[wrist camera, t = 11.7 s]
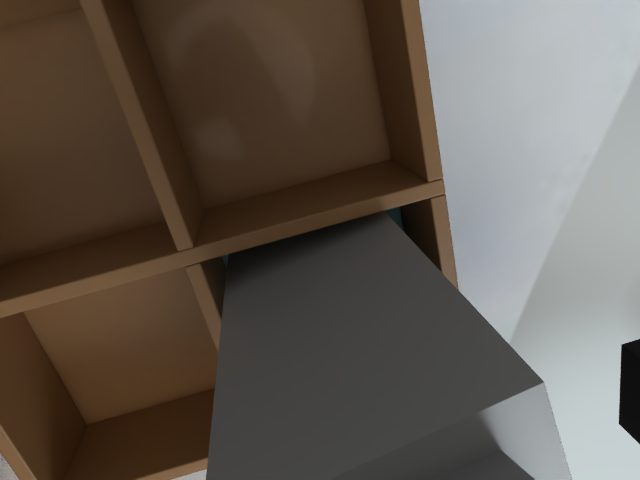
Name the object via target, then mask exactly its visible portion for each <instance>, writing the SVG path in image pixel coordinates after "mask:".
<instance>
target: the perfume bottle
mask: <svg viewBox="0 0 640 480" xmlns="http://www.w3.org/2000/svg"><path fill="white" fill-rule="evenodd" d="M206 480H572V477H571V474H570V470H569V467H568V463H567V460H566V457H565V453H564V449H563V446H562V442H561V439H560V436H559V432H558V429H557V425H556V422H555V418H554V415H553V412H552V408H551V404H550V401H549V398H548V394H547V391H546V387H545V384H544V382H543V380H542V379H541V378H540V377H539V376H538V375H537V374H536V373H535V372H534V371H533V370H532V369H531V368H530V367H529V365H528V364H527V363H526V362H525V361H524V360H523V359H522V358H521V357H520V356H519V355H518V354H517V353H516V352H515V351H514V349H513V348H512V347H511V346H510V345H509V344H508V343H507V342H506V341H505V340H504V339H503V338H502V337H501V335H500V334H499V333H498V332H497V331H496V330H495V329H494V328H493V327H492V326H491V325H490V324H489V323H488V322H487V320H486V319H485V318H484V317H483V316H482V315H481V314H480V313H479V312H478V311H477V310H476V309H475V308H474V307H473V306H472V304H471V303H470V302H469V301H468V300H467V299H466V298H465V297H464V296H463V295H462V294H461V293H460V292H459V291H458V289H457V288H456V287H455V286H454V285H453V284H452V283H451V282H450V281H449V280H448V279H447V278H446V277H445V276H444V274H443V273H442V272H441V271H440V270H439V269H438V268H437V267H436V266H435V265H434V264H433V263H432V262H431V261H430V259H429V258H428V257H427V256H426V255H425V254H424V253H423V252H422V251H421V250H420V249H419V248H418V247H417V246H416V244H415V243H414V242H413V241H412V240H411V239H410V238H409V237H408V236H407V235H406V234H405V233H404V232H403V231H402V229H401V228H400V227H399V226H398V225H397V224H396V223H395V222H394V221H393V220H392V219H391V218H390V217H389V216H388V214H387V213H386V212H385V211H381V212H378V213H374V214H371V215H367V216H363V217H360V218H356V219H353V220H349V221H346V222H342V223H338V224H335V225H331V226H328V227H324V228H320V229H317V230H313V231H310V232H306V233H303V234H299V235H295V236H292V237H288V238H285V239H281V240H278V241H274V242H270V243H267V244H263V245H260V246H256V247H252V248H249V249H245V250H242V251H238V252H235V253H231V254H228V261H227V271H226V282H225V292H224V302H223V312H222V322H221V332H220V342H219V353H218V363H217V373H216V383H215V393H214V403H213V413H212V423H211V434H210V444H209V454H208V464H207V474H206Z"/></svg>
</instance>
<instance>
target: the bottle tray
mask: <svg viewBox="0 0 640 480" xmlns="http://www.w3.org/2000/svg"><path fill="white" fill-rule="evenodd" d="M442 178H443V174H442V166H441V159H440V152H439V145H438V137H437V130H436V123H435V116H434V108H433V101H432V94H431V87H430V79H429V72H428V65H427V58H426V50H425V43H424V36H423V29H422V21H421V14H420V7H419V0H0V452H1V453H2V455H3V456H4V458H5V459H6V461H7V462H8V464H9V465H10V467H11V468H12V470H13V471H14V472H15V474H16V475H17V477H18V478H19V480H171V479H175V478H178V477H181V476H185V475H188V474H191V473H194V472H198V471H201V470H204V469H207V464H208V454H209V444H210V434H211V423H212V413H213V403H214V393H215V383H216V373H217V363H218V353H219V342H220V332H221V322H222V312H223V302H224V292H225V282H226V271H227V261H228V254H231V253H235V252H238V251H242V250H245V249H249V248H252V247H256V246H260V245H263V244H267V243H270V242H274V241H278V240H281V239H285V238H288V237H292V236H295V235H299V234H303V233H306V232H310V231H313V230H317V229H320V228H324V227H328V226H331V225H335V224H338V223H342V222H346V221H349V220H353V219H356V218H360V217H363V216H367V215H371V214H374V213H378V212H381V211H385V212H386V213H387V214H388V216H389V217H390V218H391V219H392V220H393V221H394V222H395V223H396V224H397V225H398V226H399V227H400V228H401V229H402V231H403V232H404V233H405V234H406V235H407V236H408V237H409V238H410V239H411V240H412V241H413V242H414V243H415V244H416V246H417V247H418V248H419V249H420V250H421V251H422V252H423V253H424V254H425V255H426V256H427V257H428V258H429V259H430V261H431V262H432V263H433V264H434V265H435V266H436V267H437V268H438V269H439V270H440V271H441V272H442V273H443V274H444V276H445V277H446V278H447V279H448V280H449V281H450V282H451V283H452V284H453V285H454V286H455V287H456V288H457V289H458V282H457V275H456V268H455V260H454V253H453V246H452V239H451V231H450V224H449V217H448V209H447V202H446V195H445V188H444V181H443V179H442ZM458 291H459V289H458Z"/></svg>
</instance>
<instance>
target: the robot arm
mask: <svg viewBox="0 0 640 480" xmlns="http://www.w3.org/2000/svg"><path fill="white" fill-rule="evenodd" d="M619 424H620V425H621V426H622V427H623V428H624V429H625V430H626V431H627V432H628V433H629V434H630V435H631V436H632V437H633V438H634V439H635V440H636V441H637V442H638V443H639V444H640V339H639V340H635V341H632V342H629V343H625V344H623V345H622V351H621V378H620V408H619Z"/></svg>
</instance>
